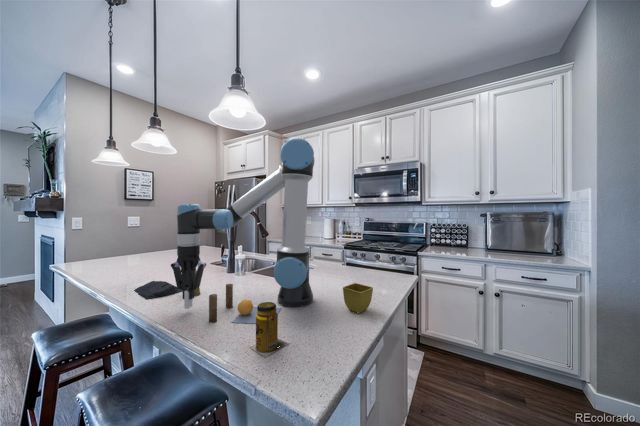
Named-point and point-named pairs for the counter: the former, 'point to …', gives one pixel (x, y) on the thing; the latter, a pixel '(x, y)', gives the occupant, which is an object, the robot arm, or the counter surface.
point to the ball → (245, 307)
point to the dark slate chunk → (157, 290)
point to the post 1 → (212, 308)
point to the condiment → (267, 330)
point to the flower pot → (357, 296)
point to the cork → (196, 291)
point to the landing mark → (249, 317)
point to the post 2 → (229, 295)
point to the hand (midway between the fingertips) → (188, 307)
